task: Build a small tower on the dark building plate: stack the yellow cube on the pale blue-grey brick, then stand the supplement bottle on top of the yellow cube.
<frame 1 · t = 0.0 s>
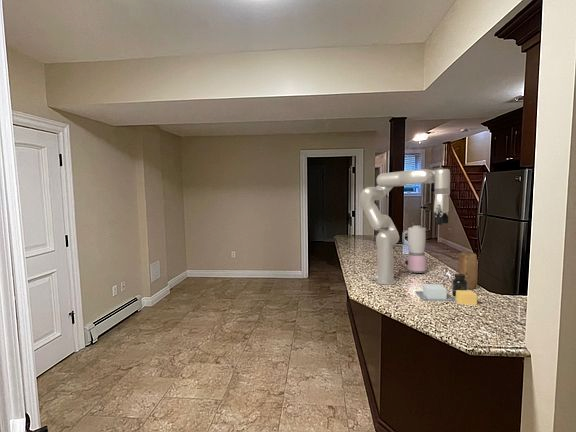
hand: (441, 223, 178), 37 cm above the countertop, tool pointing down, fingers open, 9 cm apart
blender: (414, 272, 226), on the countertop
building plate: (434, 298, 170), on the countertop
grey brick: (434, 296, 170), resting on building plate
supplement bottle: (459, 297, 170), on the countertop
block: (467, 287, 188), on the countertop
yellow cube: (466, 304, 159), on the countertop
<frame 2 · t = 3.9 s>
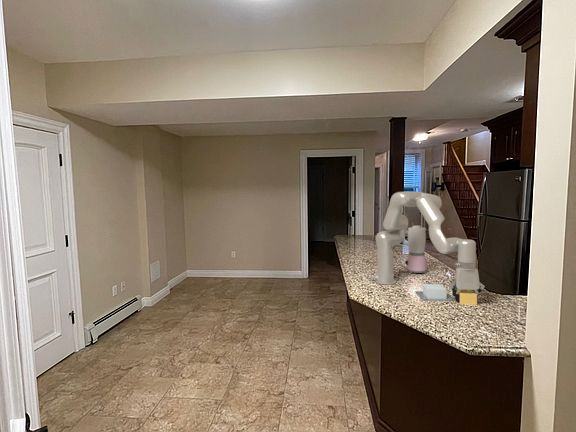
hand: (466, 301, 159), 1 cm above the countertop, tool pointing down, fingers closed on yellow cube, 7 cm apart
yellow cube: (466, 304, 159), on the countertop, touching gripper
everything else where it was.
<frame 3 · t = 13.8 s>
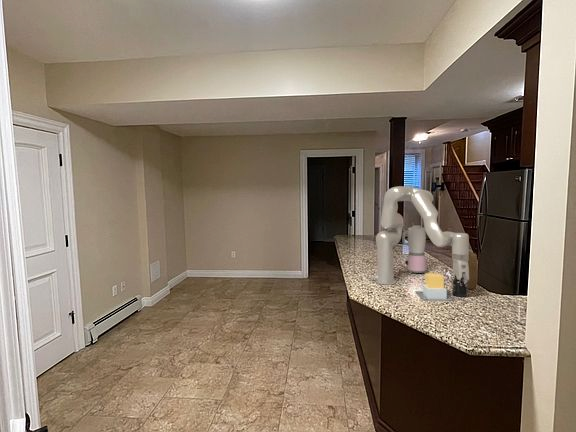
hand: (459, 291, 170), 3 cm above the countertop, tool pointing down, fingers closed on supplement bottle, 6 cm apart
supplement bottle: (459, 297, 170), on the countertop, touching gripper
yellow cube: (434, 286, 169), point 6 cm above the countertop, touching grey brick
everything else where it was.
when the fingers open (17 cm above the countertop, at t = 20.5 s): supplement bottle drops 2 cm, resting on yellow cube.
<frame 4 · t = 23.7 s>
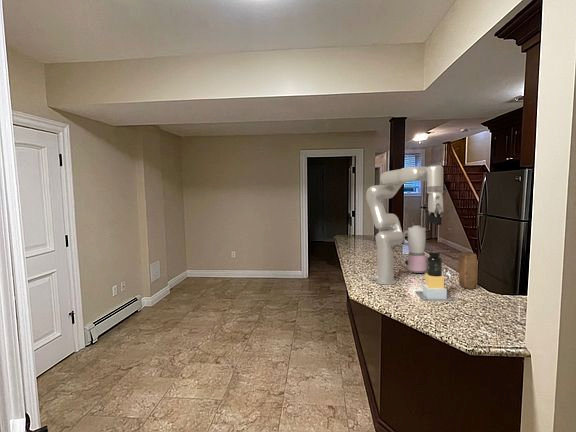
hand: (434, 224, 168), 38 cm above the countertop, tool pointing down, fingers open, 9 cm apart
supplement bottle: (434, 275, 169), point 12 cm above the countertop, touching yellow cube
yellow cube: (434, 286, 169), point 6 cm above the countertop, touching grey brick, supplement bottle
everything else where it was.
at the end: yellow cube 0.0 cm off-centre on the grey brick, point 5.0 cm above the grey brick's base; supplement bottle 0.1 cm from the grey brick (horizontally); supplement bottle point 11.8 cm above the countertop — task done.
